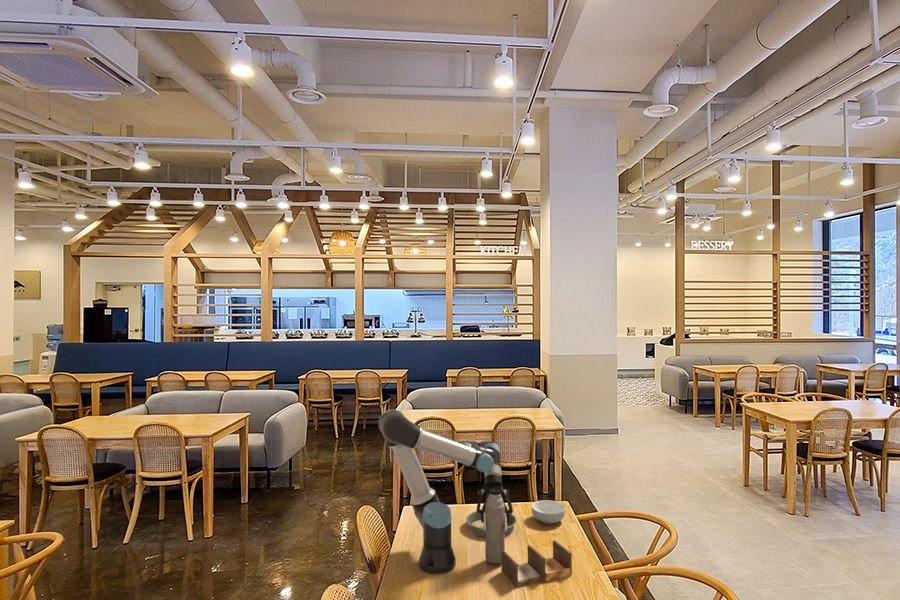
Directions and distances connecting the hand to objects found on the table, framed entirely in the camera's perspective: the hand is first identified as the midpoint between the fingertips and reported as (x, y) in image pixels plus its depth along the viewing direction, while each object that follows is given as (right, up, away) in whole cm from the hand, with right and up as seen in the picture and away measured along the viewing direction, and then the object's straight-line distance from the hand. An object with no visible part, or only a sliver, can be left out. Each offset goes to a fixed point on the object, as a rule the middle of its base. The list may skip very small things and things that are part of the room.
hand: (495, 529), depth 203 cm
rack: (+16, -14, -6) cm, 22 cm away
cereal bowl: (+31, -16, +44) cm, 56 cm away
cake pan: (+1, -16, +36) cm, 40 cm away
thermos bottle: (0, -13, +3) cm, 14 cm away
